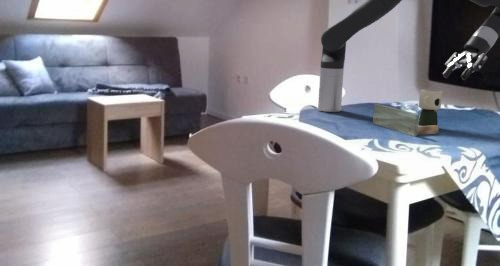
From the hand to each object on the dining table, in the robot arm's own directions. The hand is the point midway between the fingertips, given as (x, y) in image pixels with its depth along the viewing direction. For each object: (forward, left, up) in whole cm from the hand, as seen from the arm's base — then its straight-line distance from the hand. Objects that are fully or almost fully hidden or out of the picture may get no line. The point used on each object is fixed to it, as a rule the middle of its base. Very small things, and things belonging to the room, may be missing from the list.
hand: (453, 77), depth 168 cm
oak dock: (-15, -9, -17) cm, 25 cm away
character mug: (-8, -5, -17) cm, 20 cm away
